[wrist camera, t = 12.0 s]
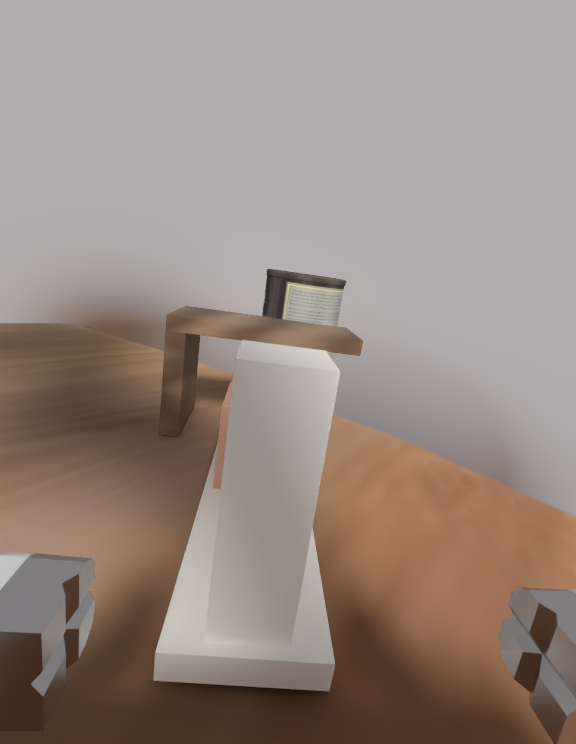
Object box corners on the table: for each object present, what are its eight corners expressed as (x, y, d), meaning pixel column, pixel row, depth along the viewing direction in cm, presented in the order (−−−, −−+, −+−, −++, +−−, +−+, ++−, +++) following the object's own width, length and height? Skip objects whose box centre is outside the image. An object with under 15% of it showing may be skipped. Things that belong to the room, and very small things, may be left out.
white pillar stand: (153, 680, 13) (176, 355, 10) (219, 445, 30) (234, 301, 28) (329, 691, 14) (396, 383, 11) (295, 454, 31) (318, 312, 28)
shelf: (158, 434, 32) (166, 314, 29) (178, 405, 38) (186, 306, 36) (341, 454, 33) (363, 340, 30) (328, 422, 40) (345, 327, 37)
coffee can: (239, 375, 52) (251, 266, 49) (277, 364, 61) (290, 271, 58) (308, 395, 48) (328, 277, 44) (338, 380, 57) (356, 281, 53)
